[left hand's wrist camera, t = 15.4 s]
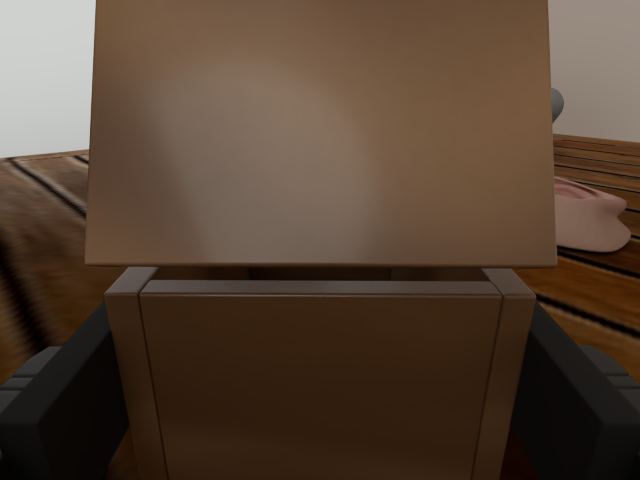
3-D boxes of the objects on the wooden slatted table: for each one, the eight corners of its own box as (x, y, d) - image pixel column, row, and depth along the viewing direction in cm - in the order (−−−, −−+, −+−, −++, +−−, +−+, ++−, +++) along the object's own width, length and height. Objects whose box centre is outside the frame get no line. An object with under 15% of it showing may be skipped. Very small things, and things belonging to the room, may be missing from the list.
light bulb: (525, 149, 77) (536, 87, 73) (513, 143, 83) (522, 86, 79) (561, 149, 77) (573, 88, 73) (547, 143, 82) (557, 86, 79)
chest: (240, 309, 27) (230, 159, 23) (398, 309, 27) (410, 160, 23) (156, 569, 13) (102, 293, 10) (481, 570, 13) (538, 295, 10)
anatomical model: (665, 208, 32) (492, 192, 35) (650, 259, 33) (485, 239, 37) (619, 169, 43) (493, 161, 47) (609, 209, 45) (487, 198, 48)
